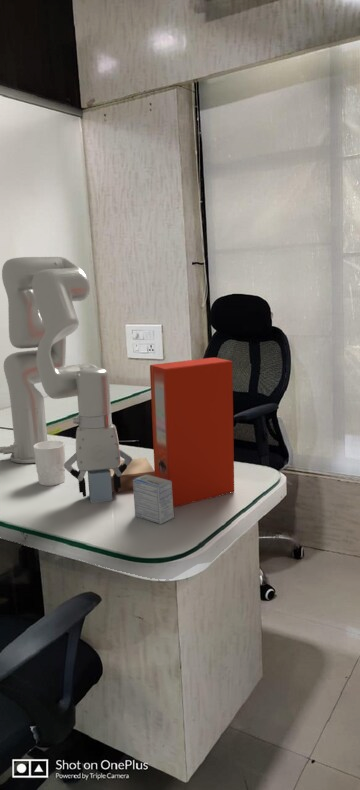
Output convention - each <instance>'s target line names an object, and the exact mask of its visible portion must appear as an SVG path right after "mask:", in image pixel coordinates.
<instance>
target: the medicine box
mask: <svg viewBox="0 0 360 790" xmlns="http://www.w3.org/2000/svg"><path fill="white" fill-rule="evenodd" d="M132 490H133V501H134V504H133V505H134V516H135V517H138V518H141V519H144V520H146V521H150V522H154V523H156V524H159V525H163V524H164V523H166V522H168V521H170V520H172V519H174V517H175V516H174V515H175V514H174V507H173V496H172V482H171V481H170V480H166V479H162V478H158V477H155V476H151V475H144V476H141V477H138V478H136V479H134V480H133V489H132Z"/></svg>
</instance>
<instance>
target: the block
mask: <svg viewBox="0 0 360 790" xmlns="http://www.w3.org/2000/svg"><path fill="white" fill-rule="evenodd" d="M87 480H88V481H87V482H88V483H87V484H88V494H89V496H88V497H89V499H90V502H91V503H100V502H108V501H113V492H112V486H111V472H110V469H104V470H95V471H87Z"/></svg>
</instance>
